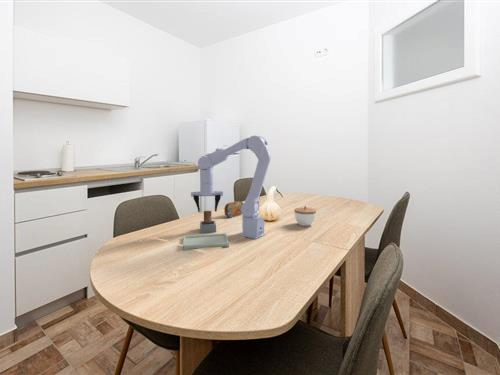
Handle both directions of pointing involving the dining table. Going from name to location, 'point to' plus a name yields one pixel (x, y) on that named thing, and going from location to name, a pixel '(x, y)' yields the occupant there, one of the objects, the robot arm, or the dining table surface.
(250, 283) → the dining table surface
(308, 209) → the lidded jar
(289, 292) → the dining table surface
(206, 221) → the dowel
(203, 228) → the grey square socket
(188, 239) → the tray
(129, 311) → the dining table surface
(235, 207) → the tin
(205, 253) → the dining table surface
